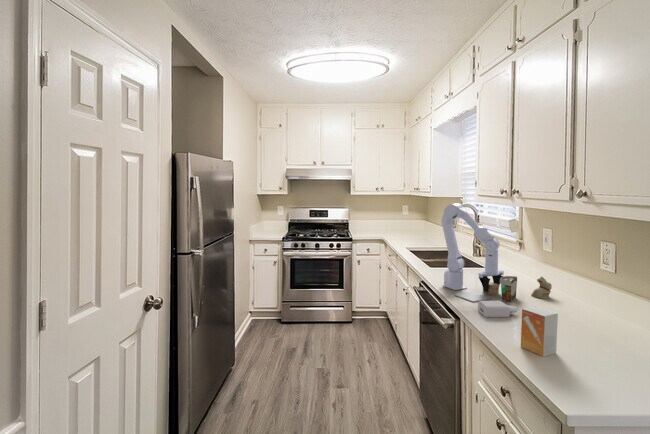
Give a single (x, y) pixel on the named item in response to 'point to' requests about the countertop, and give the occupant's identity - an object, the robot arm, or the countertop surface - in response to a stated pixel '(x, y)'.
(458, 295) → the slate board
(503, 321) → the countertop surface
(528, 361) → the countertop surface
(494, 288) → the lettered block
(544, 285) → the chocolate bunny
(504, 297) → the food container
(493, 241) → the robot arm
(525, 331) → the small box
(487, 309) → the charger
